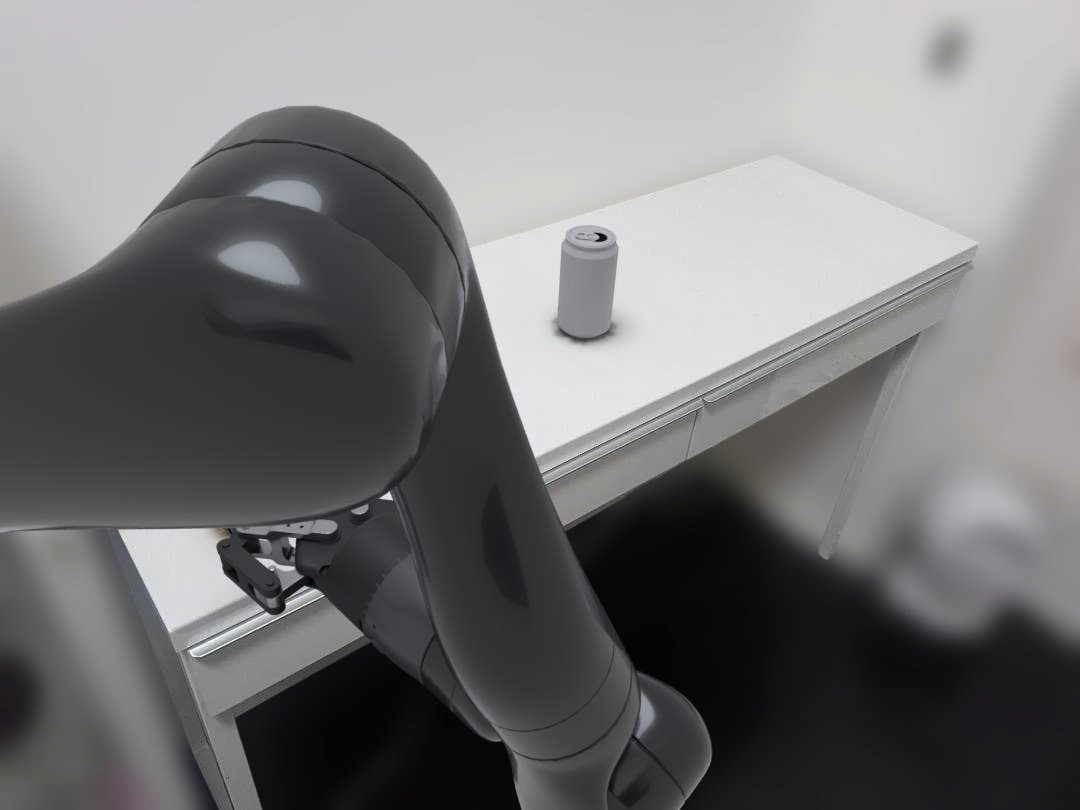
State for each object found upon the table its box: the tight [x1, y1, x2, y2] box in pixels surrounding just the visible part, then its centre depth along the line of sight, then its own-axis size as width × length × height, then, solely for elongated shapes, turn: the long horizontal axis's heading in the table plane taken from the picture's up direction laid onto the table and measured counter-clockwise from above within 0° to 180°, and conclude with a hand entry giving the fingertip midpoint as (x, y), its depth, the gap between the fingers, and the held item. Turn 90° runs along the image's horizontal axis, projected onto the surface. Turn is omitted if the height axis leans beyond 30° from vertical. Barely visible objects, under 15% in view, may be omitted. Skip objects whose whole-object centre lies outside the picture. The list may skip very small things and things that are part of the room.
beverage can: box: [556, 224, 620, 339], centre depth 93 cm, size 6×6×12 cm
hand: (273, 473), depth 60 cm, fingers open, 8 cm apart
